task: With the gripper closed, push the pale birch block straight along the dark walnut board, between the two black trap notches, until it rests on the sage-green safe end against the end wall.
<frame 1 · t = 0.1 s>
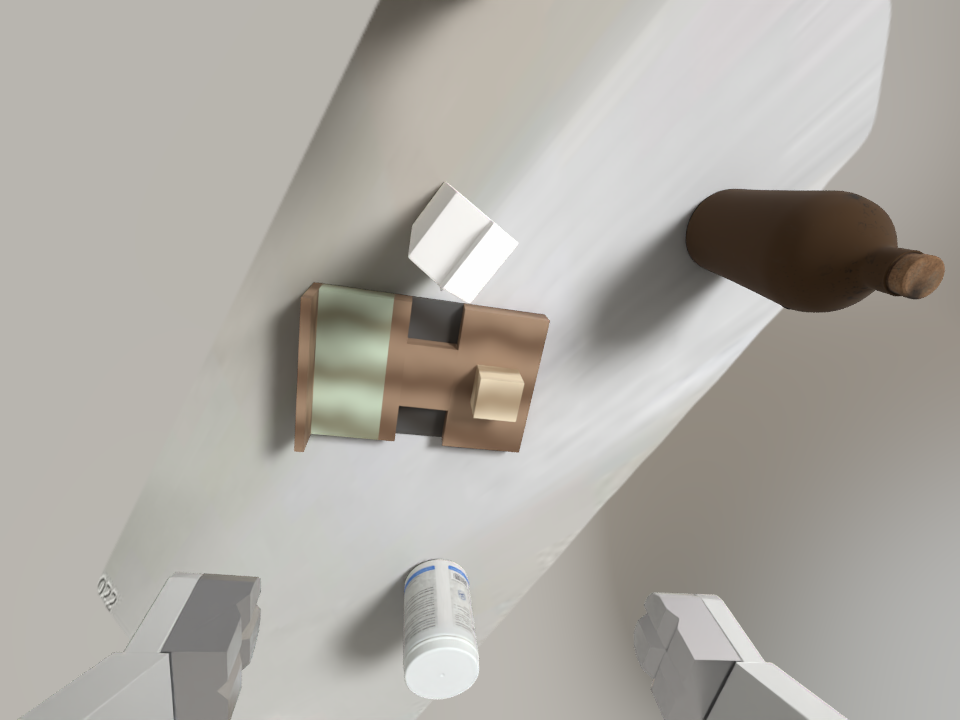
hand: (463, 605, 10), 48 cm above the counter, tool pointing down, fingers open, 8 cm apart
supplement tub: (437, 579, 73), on the counter
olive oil: (721, 231, 58), on the counter
milk: (449, 220, 54), on the counter
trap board: (423, 369, 60), on the counter
block: (493, 385, 59), point 2 cm above the counter, touching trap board
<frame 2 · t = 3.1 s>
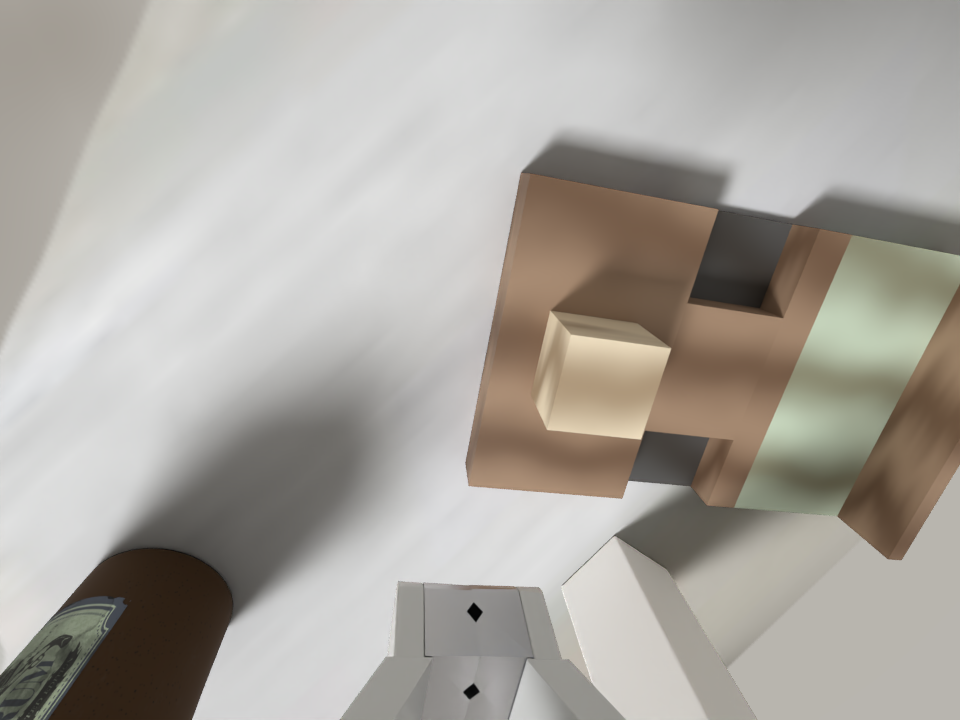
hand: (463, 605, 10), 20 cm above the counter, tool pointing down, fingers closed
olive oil: (163, 596, 33), on the counter
milk: (613, 575, 37), on the counter
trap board: (697, 361, 31), on the counter
block: (583, 359, 27), point 2 cm above the counter, touching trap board
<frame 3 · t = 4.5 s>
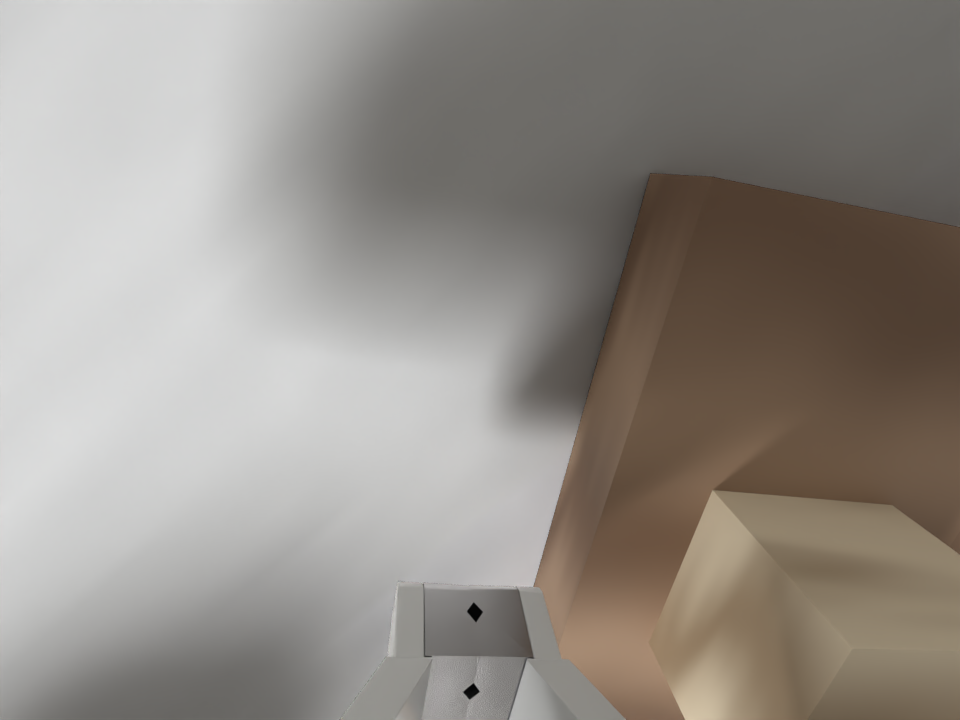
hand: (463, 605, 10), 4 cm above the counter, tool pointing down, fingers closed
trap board: (939, 529, 16), on the counter
block: (765, 576, 13), point 2 cm above the counter, touching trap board
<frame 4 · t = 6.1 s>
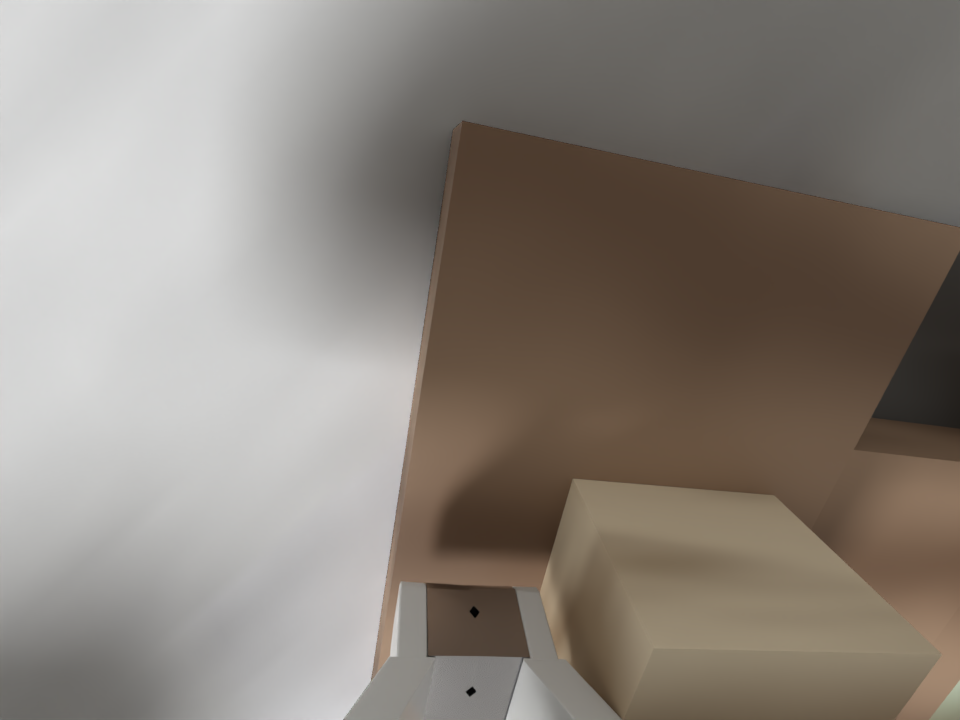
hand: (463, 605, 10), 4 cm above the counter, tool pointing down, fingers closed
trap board: (825, 524, 15), on the counter
block: (644, 571, 12), point 3 cm above the counter, touching gripper
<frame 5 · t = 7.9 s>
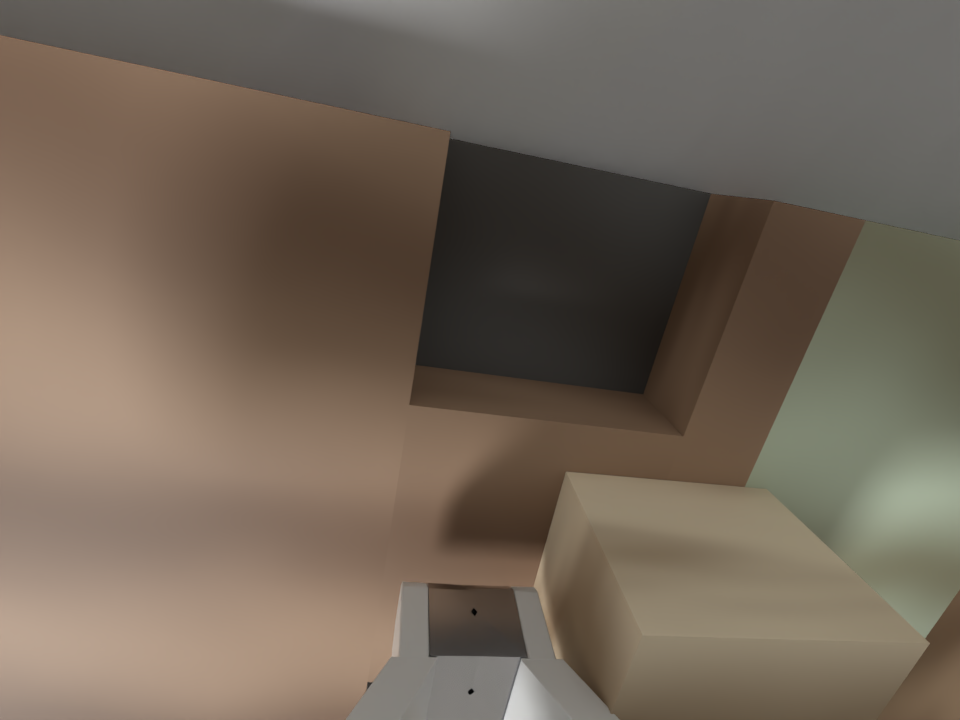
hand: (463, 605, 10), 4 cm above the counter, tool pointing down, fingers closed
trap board: (514, 502, 14), on the counter
block: (638, 565, 12), point 3 cm above the counter, touching gripper
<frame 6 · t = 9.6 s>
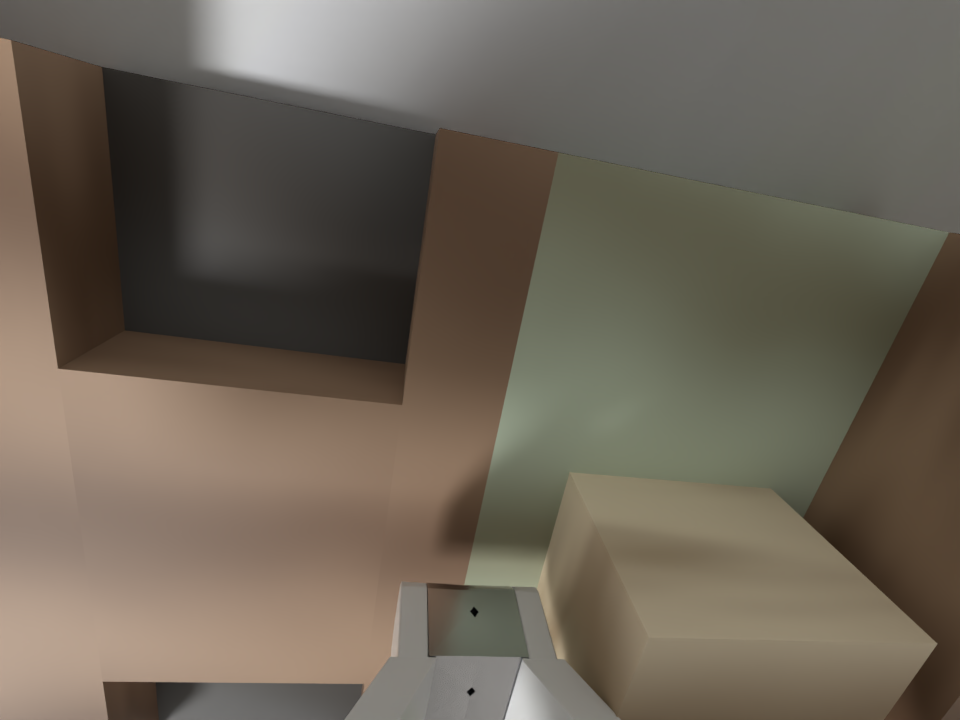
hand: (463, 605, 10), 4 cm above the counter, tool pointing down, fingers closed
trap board: (292, 485, 13), on the counter
block: (642, 565, 12), point 3 cm above the counter, touching gripper, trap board
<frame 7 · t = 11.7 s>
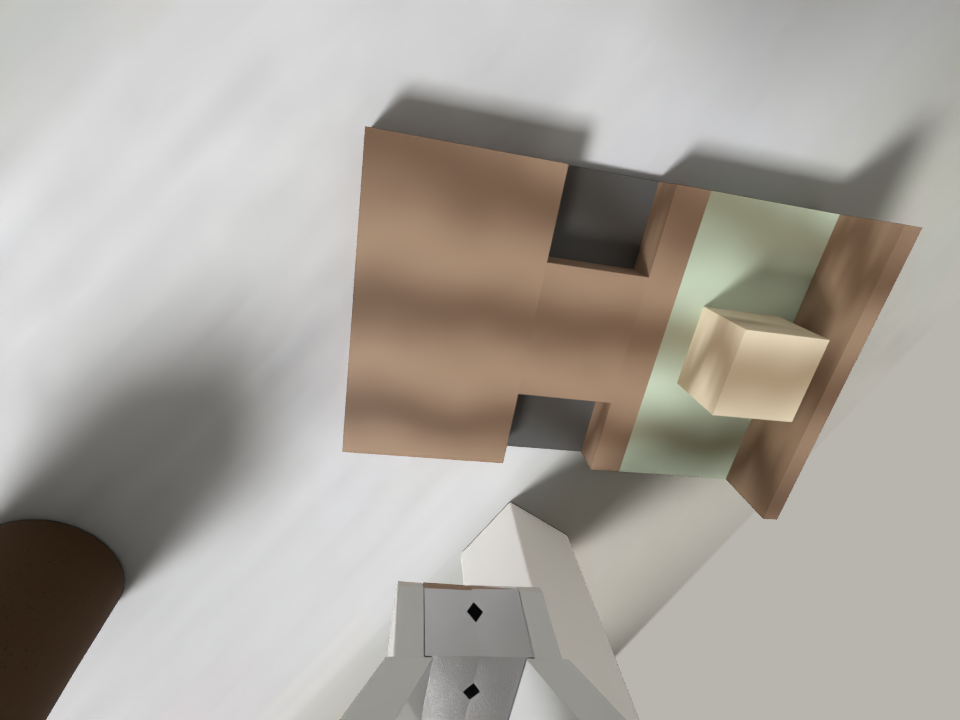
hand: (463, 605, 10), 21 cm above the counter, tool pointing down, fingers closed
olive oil: (52, 568, 33), on the counter
milk: (513, 542, 37), on the counter
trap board: (576, 324, 31), on the counter
block: (726, 350, 30), point 2 cm above the counter, touching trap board
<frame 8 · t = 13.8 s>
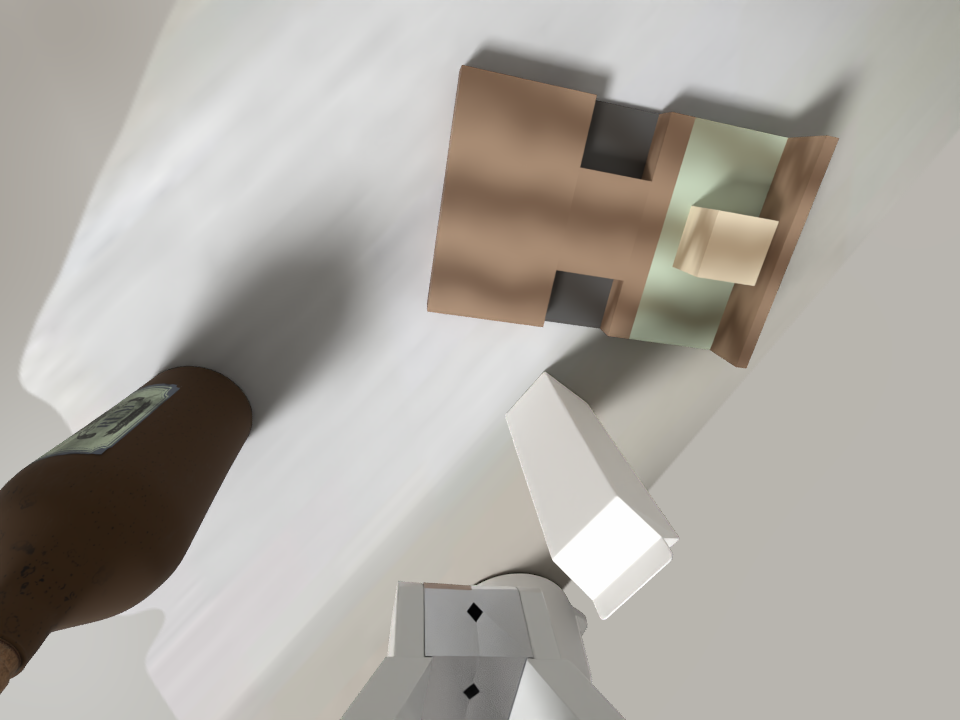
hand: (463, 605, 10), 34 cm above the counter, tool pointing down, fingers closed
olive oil: (199, 410, 44), on the counter
milk: (545, 408, 48), on the counter
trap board: (598, 224, 42), on the counter
block: (708, 241, 41), point 2 cm above the counter, touching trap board
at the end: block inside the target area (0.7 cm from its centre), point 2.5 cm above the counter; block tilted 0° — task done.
